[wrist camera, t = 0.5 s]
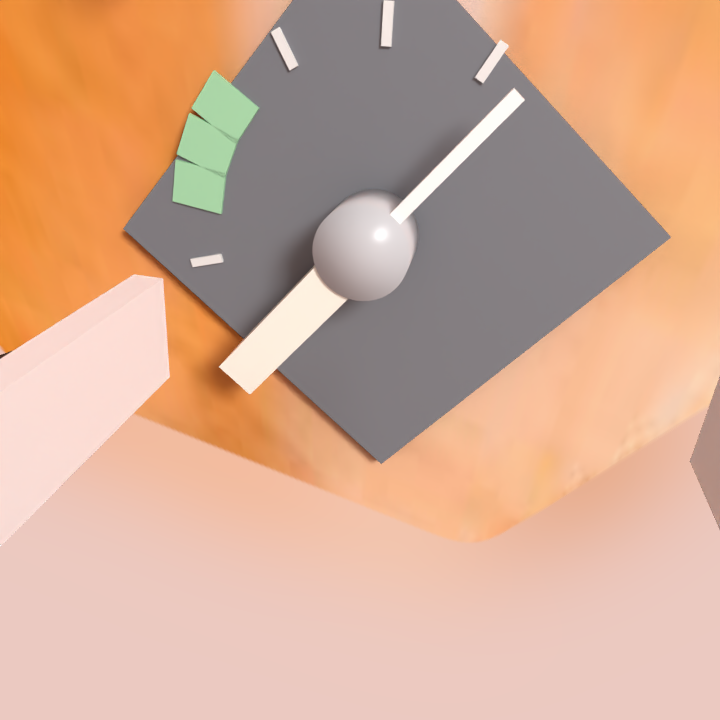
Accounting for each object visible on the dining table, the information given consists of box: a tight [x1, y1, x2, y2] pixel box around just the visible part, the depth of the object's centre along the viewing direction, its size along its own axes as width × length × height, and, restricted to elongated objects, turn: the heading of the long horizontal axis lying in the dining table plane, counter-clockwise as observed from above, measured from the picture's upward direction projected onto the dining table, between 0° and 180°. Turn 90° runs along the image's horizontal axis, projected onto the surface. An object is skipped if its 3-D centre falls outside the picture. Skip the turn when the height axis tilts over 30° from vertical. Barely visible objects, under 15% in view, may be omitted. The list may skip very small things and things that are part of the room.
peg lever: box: [219, 88, 524, 394], centre depth 35 cm, size 21×5×4 cm, turn 137°
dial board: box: [123, 0, 671, 464], centre depth 37 cm, size 23×22×1 cm
